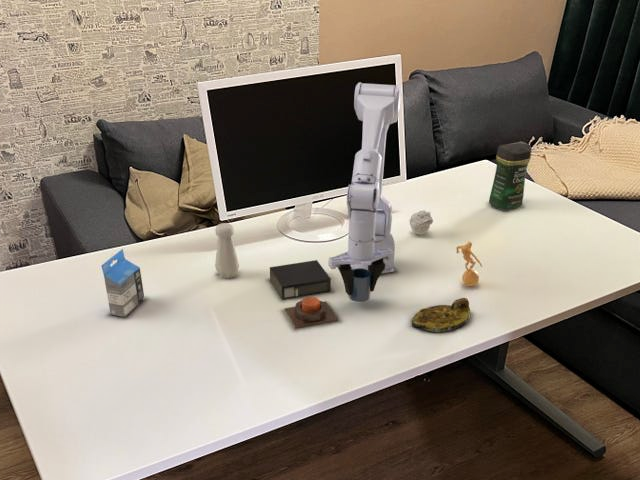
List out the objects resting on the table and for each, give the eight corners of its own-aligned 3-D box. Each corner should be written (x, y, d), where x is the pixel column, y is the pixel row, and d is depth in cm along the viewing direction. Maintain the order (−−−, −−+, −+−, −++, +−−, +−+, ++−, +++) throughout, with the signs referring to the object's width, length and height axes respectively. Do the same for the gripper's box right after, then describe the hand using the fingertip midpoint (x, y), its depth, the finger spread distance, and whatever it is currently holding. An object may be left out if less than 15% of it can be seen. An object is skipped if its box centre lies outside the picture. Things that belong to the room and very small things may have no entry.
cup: (365, 289, 169) (366, 266, 166) (373, 300, 166) (374, 276, 162) (345, 293, 168) (346, 270, 165) (353, 303, 164) (354, 280, 161)
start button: (316, 302, 165) (316, 295, 164) (322, 311, 162) (322, 304, 161) (299, 305, 164) (299, 298, 163) (305, 314, 160) (305, 307, 159)
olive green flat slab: (424, 342, 158) (479, 325, 164) (427, 325, 155) (483, 308, 160) (401, 318, 164) (455, 302, 170) (403, 301, 161) (459, 285, 166)
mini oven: (316, 272, 181) (316, 259, 179) (331, 293, 173) (331, 280, 170) (270, 280, 177) (269, 267, 175) (282, 301, 169) (282, 288, 167)
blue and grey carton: (125, 318, 162) (116, 268, 155) (109, 315, 163) (100, 265, 156) (145, 299, 169) (138, 250, 162) (130, 296, 170) (122, 248, 163)
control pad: (325, 303, 168) (325, 294, 167) (337, 321, 162) (338, 311, 161) (284, 311, 165) (283, 301, 164) (294, 329, 159) (294, 319, 158)
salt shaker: (235, 281, 176) (231, 231, 169) (212, 278, 177) (208, 229, 170) (242, 270, 181) (239, 221, 174) (220, 267, 182) (216, 219, 174)
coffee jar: (502, 213, 212) (512, 150, 202) (484, 203, 218) (493, 142, 207) (527, 207, 217) (538, 145, 206) (508, 197, 222) (518, 137, 211)
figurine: (487, 290, 175) (494, 244, 168) (469, 296, 172) (475, 250, 165) (463, 276, 181) (469, 231, 174) (445, 282, 178) (450, 237, 171)
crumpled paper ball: (418, 241, 196) (420, 217, 192) (403, 231, 201) (405, 207, 197) (436, 236, 199) (439, 212, 195) (421, 227, 204) (423, 203, 200)
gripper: (336, 249, 153) (335, 305, 161) (399, 239, 157) (395, 294, 165) (325, 235, 158) (324, 289, 166) (386, 226, 163) (383, 280, 170)
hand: (359, 291), depth 166 cm, fingers closed on cup, 5 cm apart
